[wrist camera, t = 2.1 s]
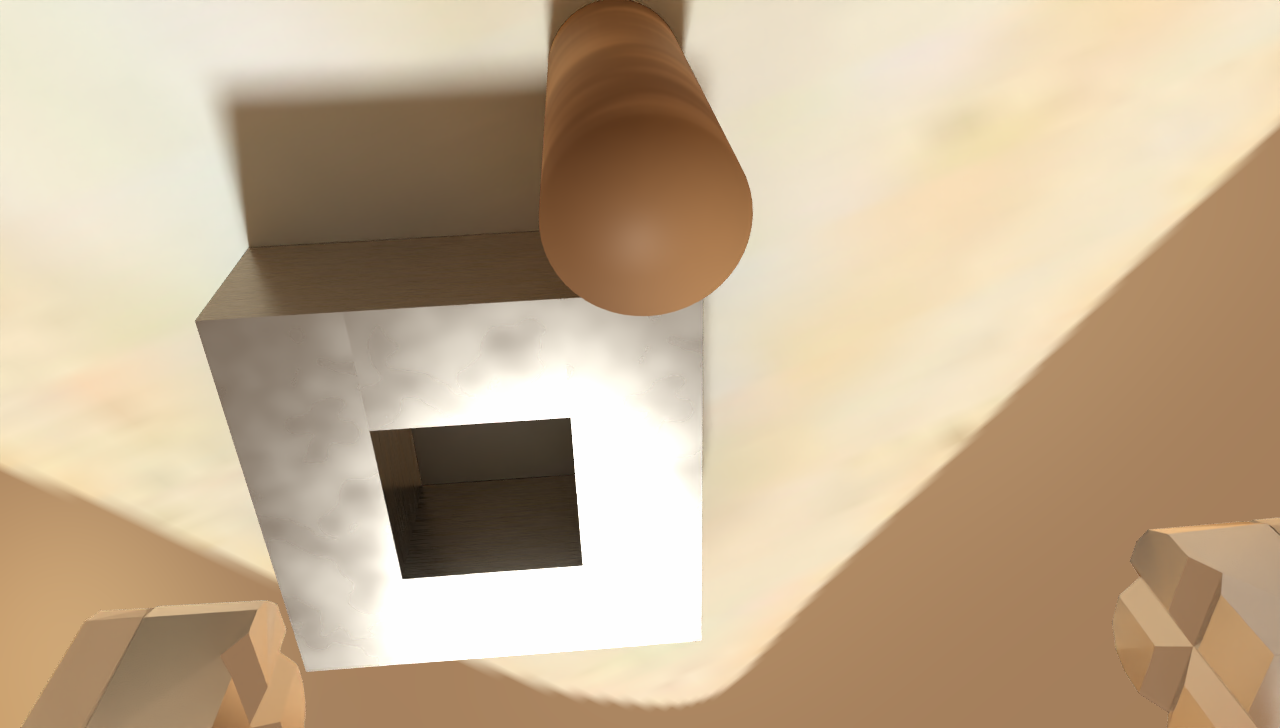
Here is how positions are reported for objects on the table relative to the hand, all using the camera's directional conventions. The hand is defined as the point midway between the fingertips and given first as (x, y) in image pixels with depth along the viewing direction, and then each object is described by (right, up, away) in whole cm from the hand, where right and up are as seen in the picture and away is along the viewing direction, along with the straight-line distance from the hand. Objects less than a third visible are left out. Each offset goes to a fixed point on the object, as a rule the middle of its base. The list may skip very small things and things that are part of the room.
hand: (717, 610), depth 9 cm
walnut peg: (-2, +11, +19) cm, 22 cm away
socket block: (-6, +1, +25) cm, 25 cm away
